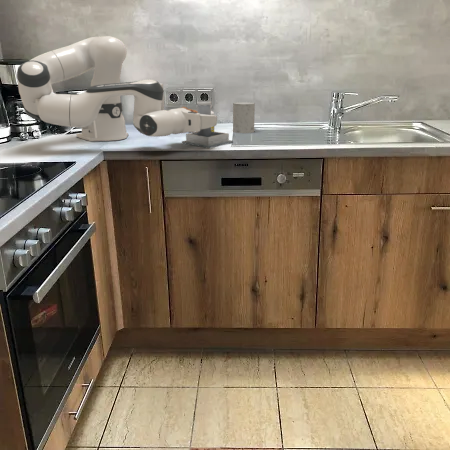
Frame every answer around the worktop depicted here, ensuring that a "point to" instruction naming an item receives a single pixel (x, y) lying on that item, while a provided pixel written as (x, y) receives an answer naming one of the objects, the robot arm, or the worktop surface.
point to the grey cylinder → (243, 117)
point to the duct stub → (205, 108)
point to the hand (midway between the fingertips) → (206, 117)
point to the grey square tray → (207, 139)
